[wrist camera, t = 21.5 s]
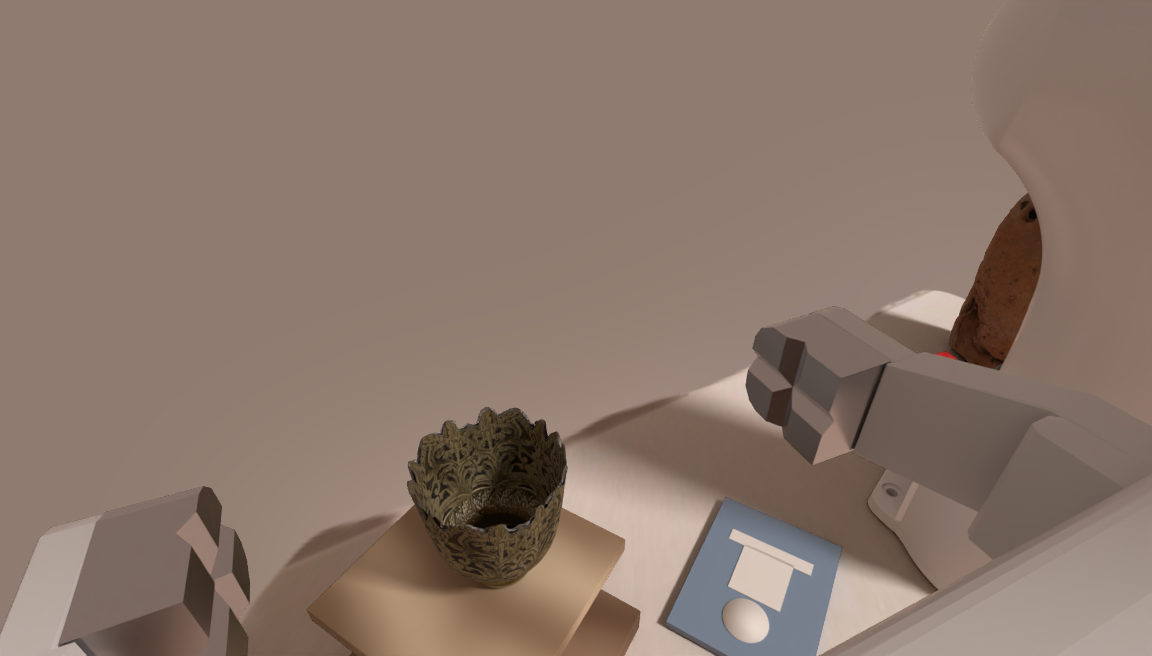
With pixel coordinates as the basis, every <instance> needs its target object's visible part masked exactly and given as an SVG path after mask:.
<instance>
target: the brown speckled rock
mask: <svg viewBox="0 0 1152 656" xmlns="http://www.w3.org/2000/svg"><path fill="white" fill-rule="evenodd" d="M1041 264H1042V238H1041V231H1040V225H1039V221H1038V217H1037V213H1036V211H1035V208H1034V205H1033V202H1032V200H1031V198H1030V196H1029V194H1028V193H1027V194H1026V195H1025V196H1023V197H1022V198H1021V199H1020V200H1019V201H1018V202H1017V203H1016V205H1015V206H1014V207H1013V208H1012V209H1011V210H1010V212H1009V214H1008V215H1007V216H1006V217H1005V219H1004V220H1003V222H1002V223H1001V224H1000V225H999V227H998V229H997V231H996V233H995V235H994V237H993V239H992V241H991V243H990V245H989V247H988V249H987V250H986V252H985V256H984V259H983V261H982V262H981V264H980V266H979V269H978V272H977V275H976V278H975V282H974V284H973V286H972V289H971V290H970V292H969V294H968V296H967V298H966V300H965V302H964V303H963V305H962V307H961V310H960V313H959V316H958V318H957V319H956V321H955V323H954V326H953V328H952V331H951V335H950V340H949V345H950V346H951V347H952V348H953V349H954V350H955V351H956V352H957V353H958V354H961V355H962V356H963V357H964V358H965V359H966V360H967V361H968V362H969V363H971V364H975V365H979V366H983V367H987V368H991V369H995V368H996V367H997V366H999V365H1001V364H1003V363H1004V361H1005V359H1006V357H1007V355H1008V353H1009V351H1010V349H1011V347H1012V345H1013V343H1014V340H1015V338H1016V336H1017V334H1018V332H1019V330H1020V327H1021V325H1022V322H1023V320H1024V318H1025V315H1026V313H1027V310H1028V308H1029V305H1030V302H1031V300H1032V297H1033V294H1034V292H1035V289H1036V286H1037V283H1038V280H1039V275H1040V271H1041Z"/></svg>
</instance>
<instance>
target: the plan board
mask: <svg viewBox="0 0 1152 656" xmlns="http://www.w3.org/2000/svg"><path fill="white" fill-rule="evenodd" d="M841 551H842V547H841V546H839V545H837V544H834V543H832V542H830V541H827V540H825V539H823V538H820V537H818V536H816V535H813V534H811V533H809V532H806V531H804V530H802V529H799V528H797V527H795V526H792V525H790V524H788V523H785V522H783V521H781V520H778V519H776V518H774V517H771V516H769V515H767V514H764V513H762V512H760V511H757V510H755V509H753V508H750V507H748V506H746V505H743V504H741V503H739V502H736V501H734V500H732V499H729V498H727V497H725V499H724V501H723V504H722V506H721V508H720V510H719V512H718V514H717V516H716V518H715V520H714V522H713V524H712V527H711V529H710V531H709V533H708V535H707V537H706V539H705V541H704V543H703V545H702V548H701V550H700V552H699V554H698V556H697V558H696V560H695V562H694V564H693V566H692V568H691V571H690V573H689V575H688V577H687V579H686V581H685V583H684V585H683V587H682V589H681V591H680V594H679V596H678V598H677V600H676V602H675V604H674V606H673V608H672V610H671V612H670V615H669V617H668V619H667V621H666V627H668V628H669V629H671V630H673V631H675V632H676V633H678V634H680V635H682V636H684V637H685V638H687V639H689V640H691V641H693V642H694V643H696V644H698V645H700V646H702V647H703V648H705V649H707V650H709V651H711V652H712V653H714V654H716V655H718V656H816V653H817V649H818V645H819V641H820V637H821V633H822V628H823V624H824V620H825V616H826V612H827V608H828V604H829V600H830V596H831V592H832V587H833V583H834V579H835V575H836V571H837V567H838V563H839V559H840V555H841Z"/></svg>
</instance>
